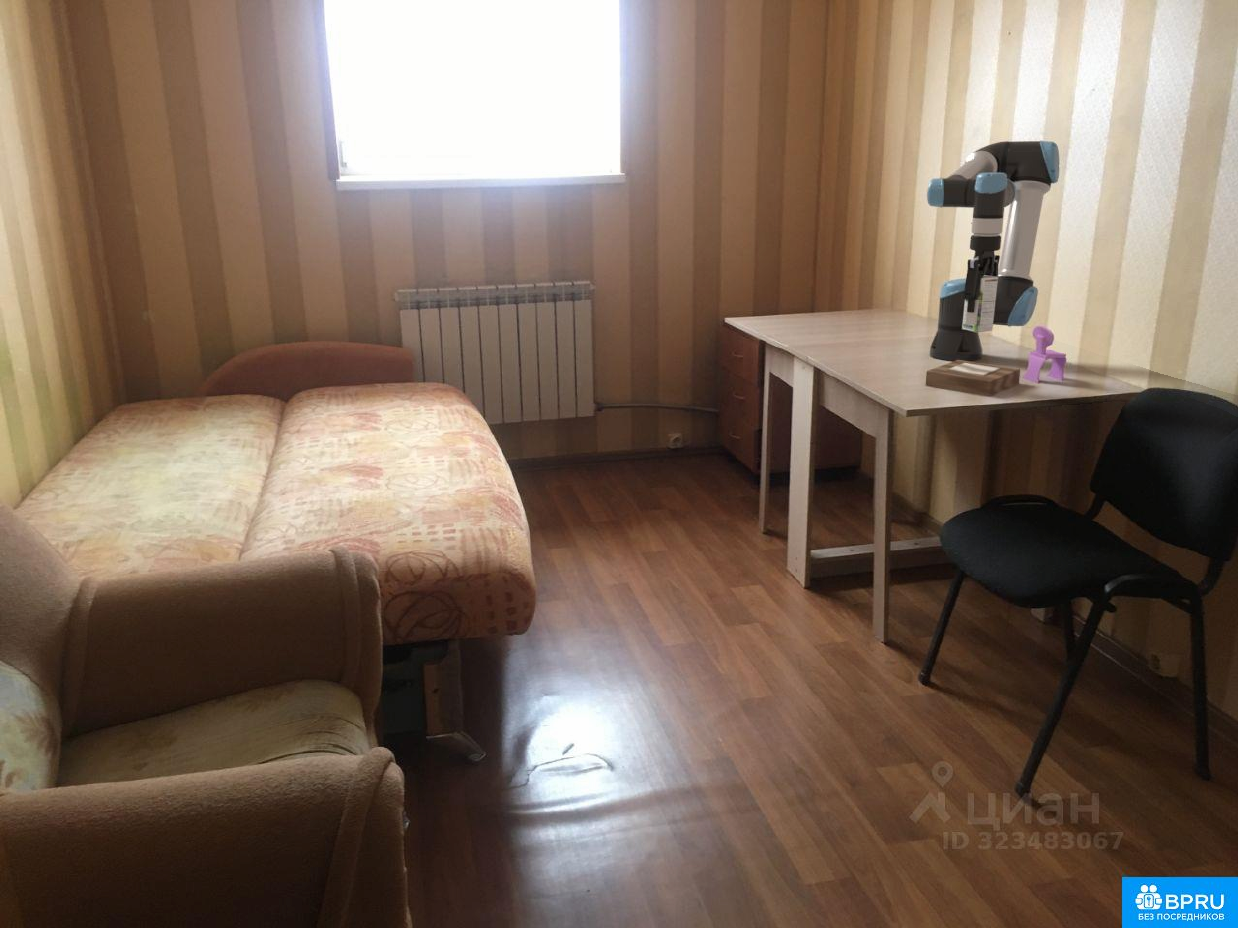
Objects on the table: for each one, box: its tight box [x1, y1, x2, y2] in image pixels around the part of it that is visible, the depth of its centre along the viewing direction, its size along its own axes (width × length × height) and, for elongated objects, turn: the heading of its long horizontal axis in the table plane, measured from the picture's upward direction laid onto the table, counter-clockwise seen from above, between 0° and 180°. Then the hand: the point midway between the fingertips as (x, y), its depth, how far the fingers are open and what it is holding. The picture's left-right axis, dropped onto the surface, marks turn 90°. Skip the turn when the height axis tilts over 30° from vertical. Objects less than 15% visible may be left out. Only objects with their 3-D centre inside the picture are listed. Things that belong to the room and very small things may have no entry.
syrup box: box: [962, 275, 998, 333], centre depth 268 cm, size 6×6×14 cm
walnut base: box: [925, 360, 1021, 397], centre depth 274 cm, size 18×18×4 cm
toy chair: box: [1022, 325, 1067, 384], centre depth 277 cm, size 8×9×15 cm
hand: (978, 322), depth 269 cm, fingers closed on syrup box, 7 cm apart
